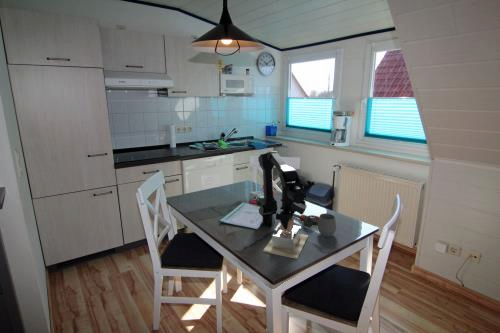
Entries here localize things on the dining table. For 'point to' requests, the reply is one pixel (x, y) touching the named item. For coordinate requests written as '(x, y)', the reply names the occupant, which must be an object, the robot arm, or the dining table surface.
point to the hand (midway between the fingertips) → (287, 226)
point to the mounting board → (287, 253)
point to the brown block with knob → (289, 225)
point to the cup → (326, 225)
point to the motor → (286, 238)
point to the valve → (308, 220)
